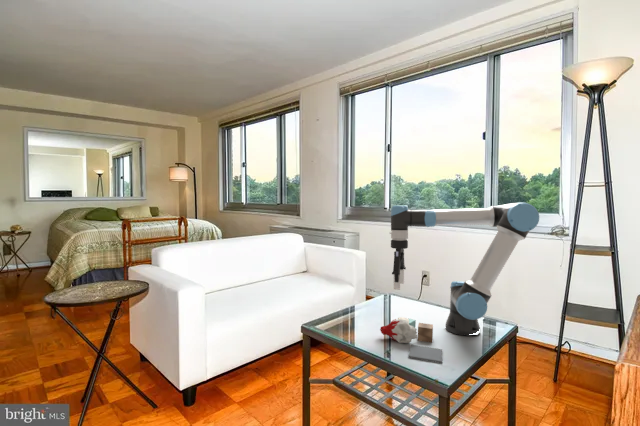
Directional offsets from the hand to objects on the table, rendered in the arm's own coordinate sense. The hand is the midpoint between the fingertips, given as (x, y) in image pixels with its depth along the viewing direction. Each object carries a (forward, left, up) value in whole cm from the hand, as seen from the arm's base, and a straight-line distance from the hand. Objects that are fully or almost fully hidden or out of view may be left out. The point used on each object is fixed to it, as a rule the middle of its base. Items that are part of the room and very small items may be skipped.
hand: (399, 286), depth 157 cm
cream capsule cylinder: (-2, -3, -21) cm, 22 cm away
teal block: (-4, -9, -22) cm, 24 cm away
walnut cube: (-12, +2, -22) cm, 25 cm away
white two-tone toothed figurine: (-1, +8, -22) cm, 23 cm away
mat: (-13, +19, -21) cm, 32 cm away
